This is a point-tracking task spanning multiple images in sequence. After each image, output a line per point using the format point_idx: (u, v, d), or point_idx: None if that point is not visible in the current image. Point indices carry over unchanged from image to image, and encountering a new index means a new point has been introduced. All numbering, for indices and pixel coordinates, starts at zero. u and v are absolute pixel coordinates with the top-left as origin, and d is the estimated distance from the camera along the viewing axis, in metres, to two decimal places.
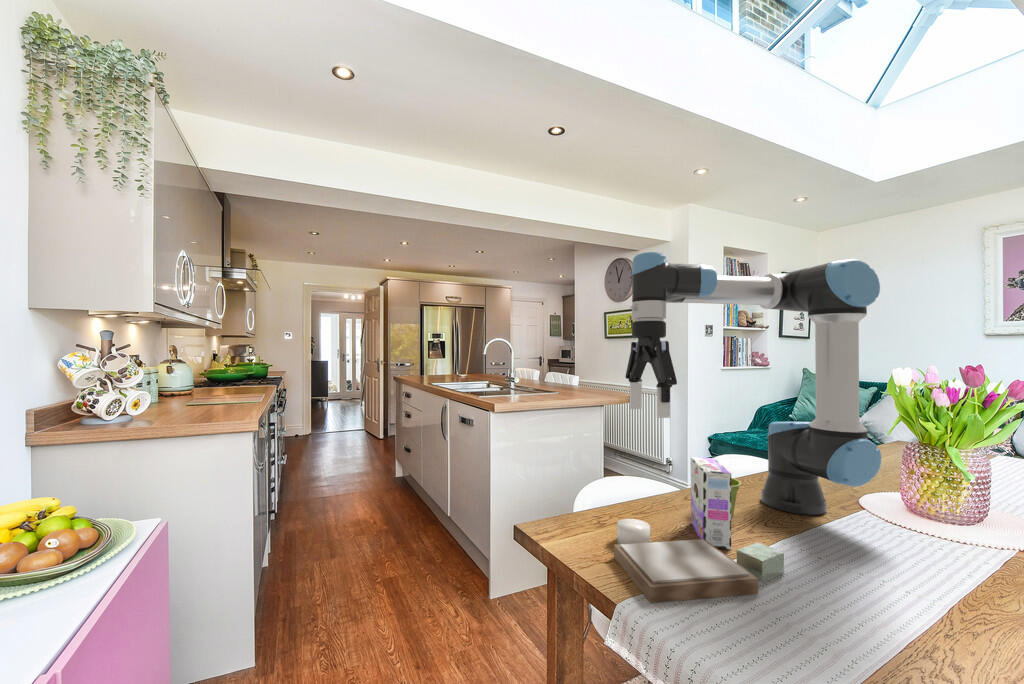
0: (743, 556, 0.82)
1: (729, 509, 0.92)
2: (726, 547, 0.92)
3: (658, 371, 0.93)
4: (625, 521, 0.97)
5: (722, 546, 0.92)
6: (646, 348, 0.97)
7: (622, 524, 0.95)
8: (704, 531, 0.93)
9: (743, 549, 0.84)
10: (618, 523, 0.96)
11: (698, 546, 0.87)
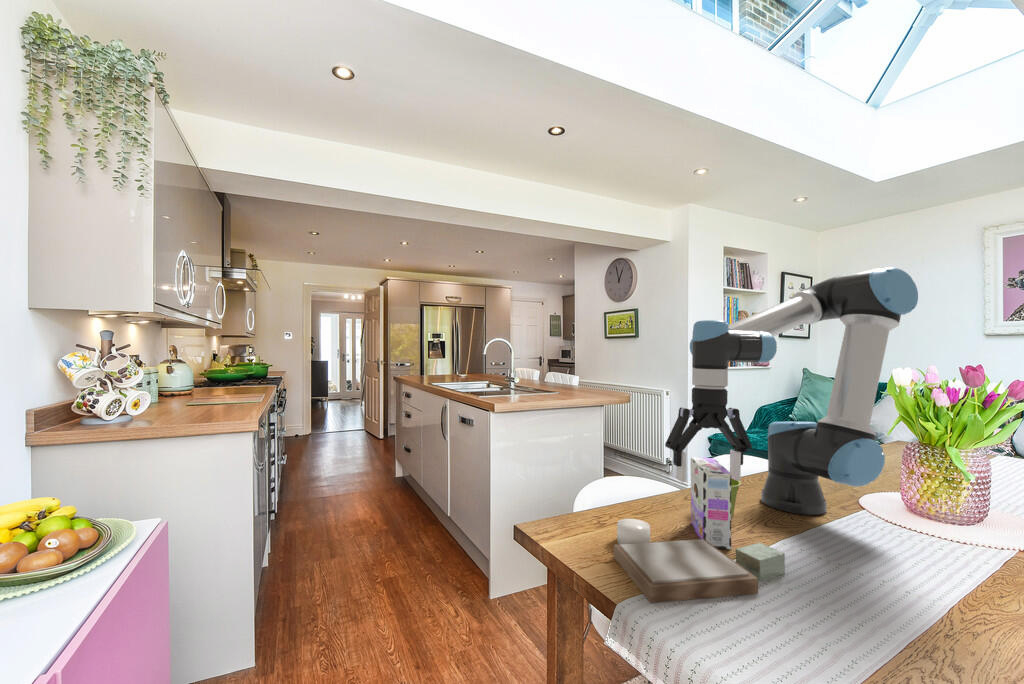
0: (742, 555, 0.83)
1: (729, 509, 0.92)
2: (726, 547, 0.92)
3: (681, 436, 0.99)
4: (625, 521, 0.97)
5: (722, 546, 0.92)
6: None
7: (622, 524, 0.95)
8: (704, 531, 0.93)
9: (743, 548, 0.84)
10: (618, 523, 0.96)
11: (698, 546, 0.87)
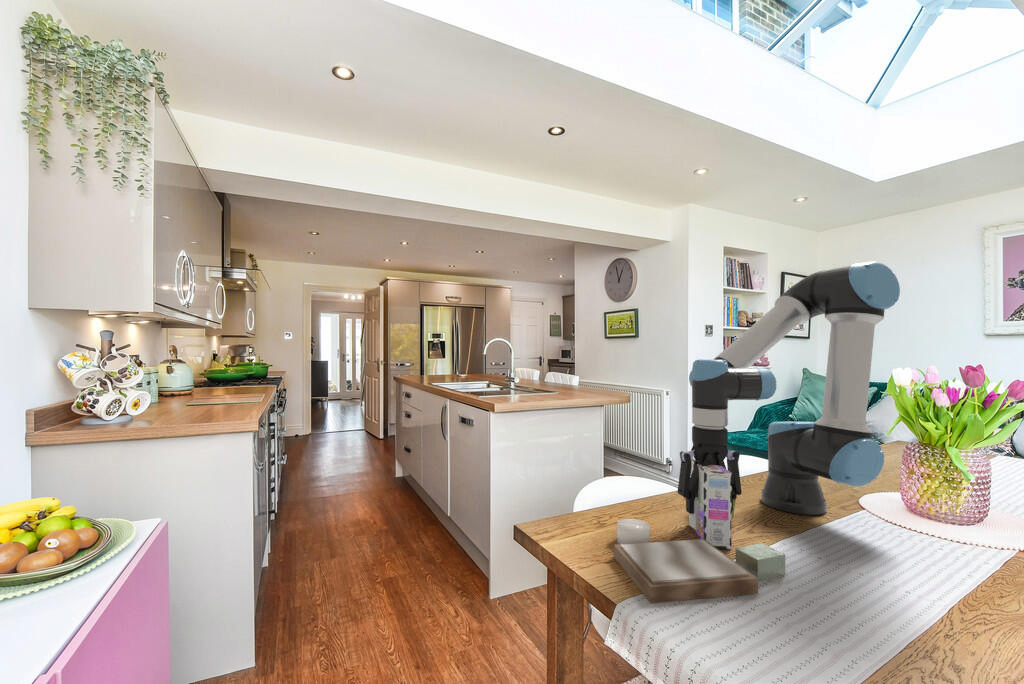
0: (741, 555, 0.83)
1: (729, 509, 0.92)
2: (726, 547, 0.92)
3: (690, 481, 0.99)
4: (625, 521, 0.97)
5: (722, 546, 0.92)
6: None
7: (622, 524, 0.95)
8: (704, 531, 0.93)
9: (742, 548, 0.84)
10: (618, 523, 0.96)
11: (698, 546, 0.87)
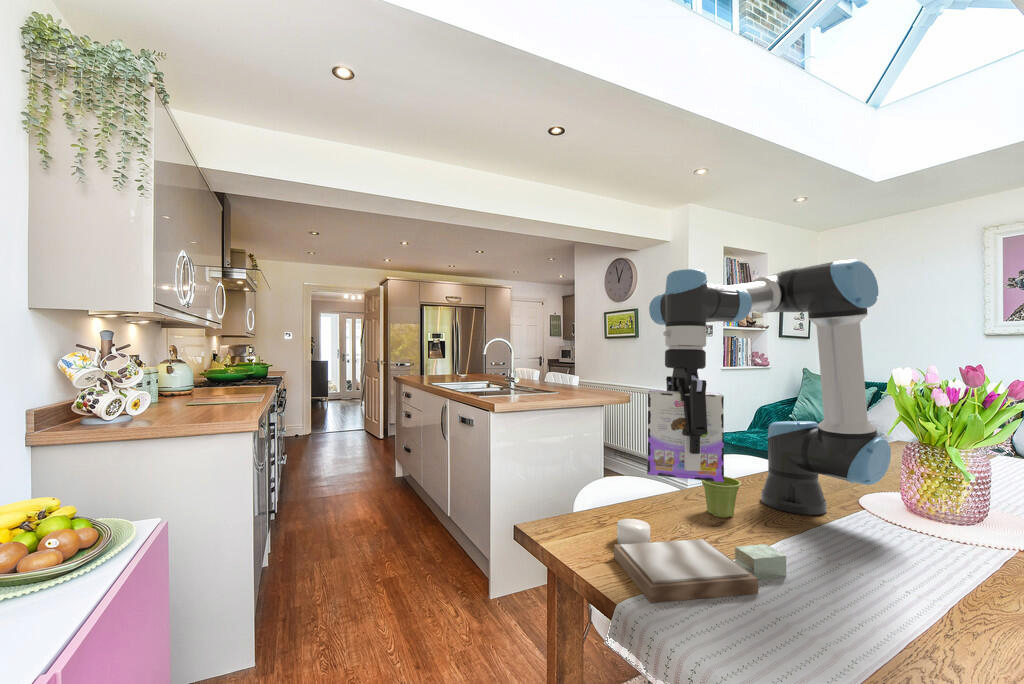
0: (740, 553, 0.84)
1: None
2: None
3: (689, 416, 0.81)
4: (625, 521, 0.97)
5: None
6: (680, 382, 0.83)
7: (622, 524, 0.95)
8: (723, 464, 0.80)
9: (742, 547, 0.85)
10: (618, 523, 0.96)
11: (698, 546, 0.87)
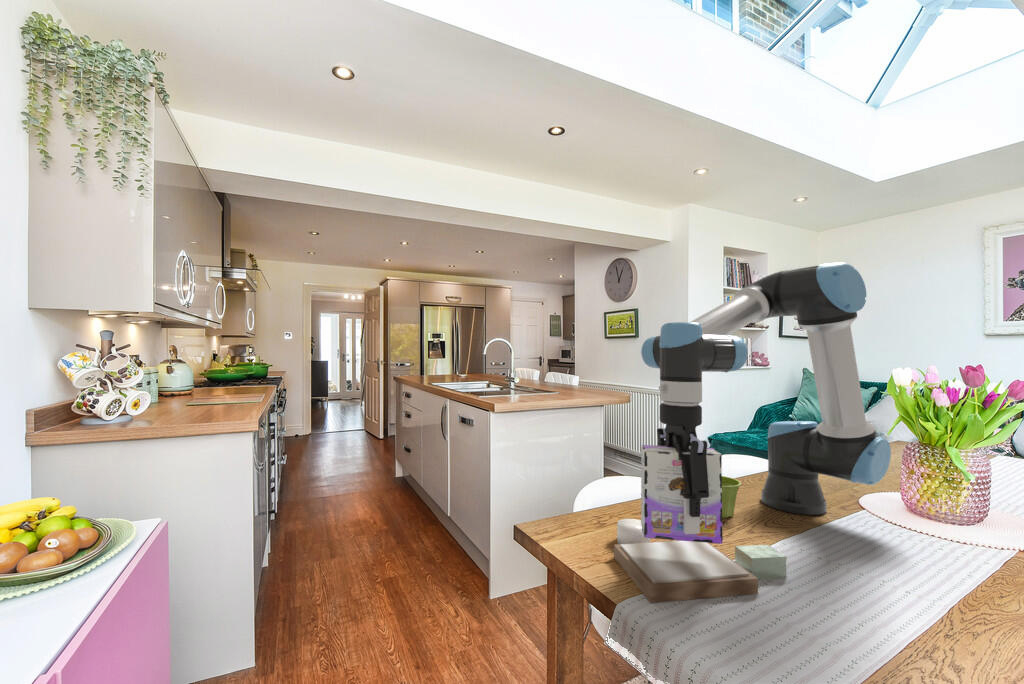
0: (739, 552, 0.84)
1: None
2: None
3: (688, 477, 0.78)
4: (625, 521, 0.97)
5: None
6: (678, 440, 0.80)
7: (622, 524, 0.95)
8: (721, 525, 0.78)
9: (742, 547, 0.85)
10: (618, 523, 0.96)
11: (698, 546, 0.87)
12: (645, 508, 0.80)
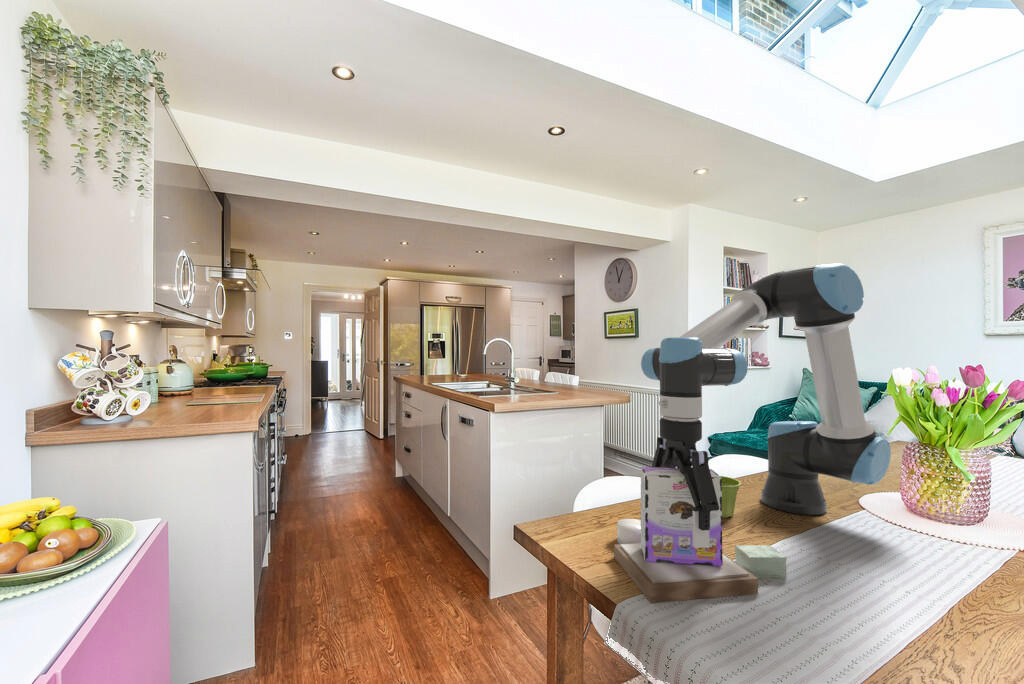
0: (738, 552, 0.84)
1: None
2: None
3: (694, 489, 0.76)
4: (625, 521, 0.97)
5: None
6: (678, 454, 0.80)
7: (622, 524, 0.95)
8: (721, 548, 0.78)
9: (743, 546, 0.85)
10: (618, 523, 0.96)
11: None
12: (646, 532, 0.80)
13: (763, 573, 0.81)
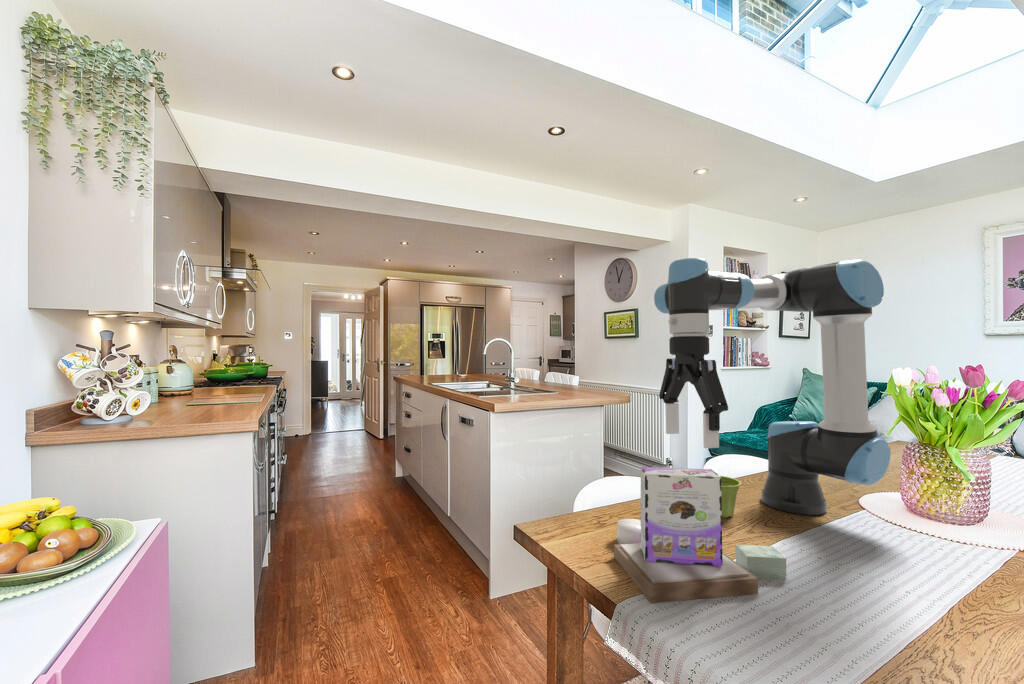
0: (738, 551, 0.85)
1: None
2: None
3: (704, 394, 0.81)
4: (625, 521, 0.97)
5: None
6: (688, 367, 0.85)
7: (622, 524, 0.95)
8: (721, 547, 0.78)
9: (743, 546, 0.85)
10: (618, 523, 0.96)
11: None
12: (646, 532, 0.80)
13: (761, 573, 0.81)
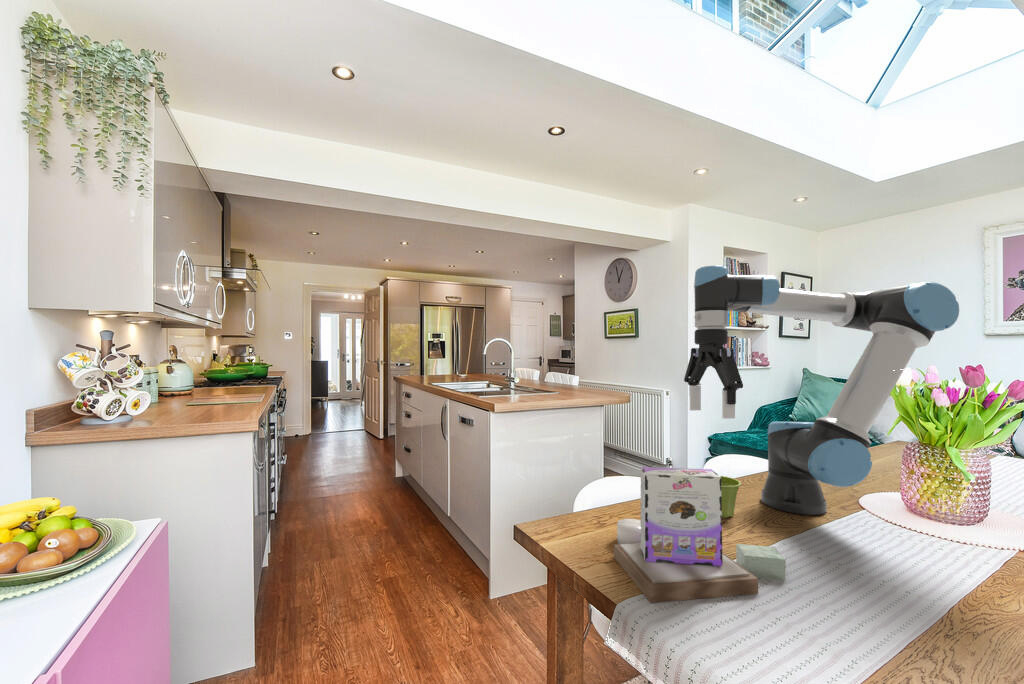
0: (738, 550, 0.85)
1: None
2: None
3: (723, 375, 1.01)
4: (625, 521, 0.97)
5: None
6: (710, 354, 1.05)
7: (622, 524, 0.95)
8: (721, 547, 0.78)
9: (744, 545, 0.85)
10: (618, 523, 0.96)
11: None
12: (646, 532, 0.80)
13: (760, 572, 0.81)
